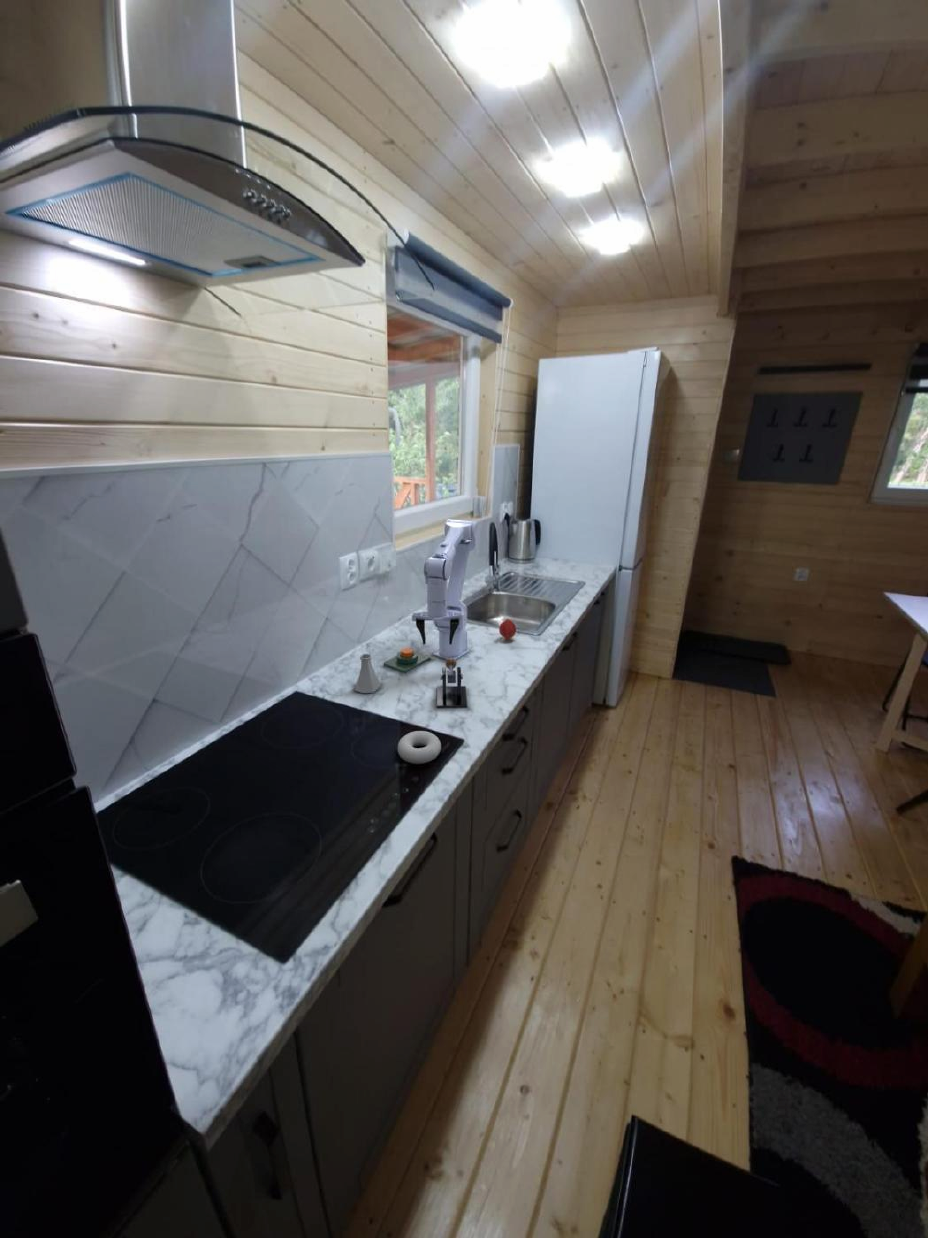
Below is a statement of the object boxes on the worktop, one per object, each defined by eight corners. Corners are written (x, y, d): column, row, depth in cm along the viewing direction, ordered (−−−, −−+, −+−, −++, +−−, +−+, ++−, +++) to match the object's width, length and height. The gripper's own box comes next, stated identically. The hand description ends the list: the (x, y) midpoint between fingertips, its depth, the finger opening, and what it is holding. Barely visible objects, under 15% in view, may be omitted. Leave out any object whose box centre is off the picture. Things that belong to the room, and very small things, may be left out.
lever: (445, 666, 142) (445, 656, 141) (456, 666, 142) (456, 656, 141) (445, 684, 132) (445, 674, 130) (457, 684, 132) (457, 673, 131)
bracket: (437, 690, 140) (436, 662, 136) (465, 689, 140) (465, 662, 137) (436, 709, 130) (436, 680, 127) (467, 709, 131) (467, 679, 127)
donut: (410, 736, 119) (389, 760, 111) (409, 724, 118) (388, 747, 109) (448, 746, 116) (429, 771, 107) (448, 733, 115) (429, 758, 106)
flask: (375, 695, 137) (373, 663, 133) (350, 692, 138) (348, 660, 134) (384, 682, 143) (382, 651, 139) (360, 680, 144) (358, 649, 141)
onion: (499, 635, 175) (500, 614, 172) (515, 636, 174) (517, 615, 171) (498, 642, 170) (499, 620, 166) (515, 643, 169) (516, 621, 166)
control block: (409, 652, 162) (409, 644, 160) (430, 660, 157) (430, 651, 156) (383, 666, 153) (383, 657, 151) (405, 674, 148) (405, 665, 147)
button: (406, 652, 156) (406, 647, 155) (415, 655, 154) (415, 650, 153) (398, 656, 153) (398, 651, 153) (407, 659, 151) (407, 654, 151)
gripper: (411, 604, 137) (412, 648, 142) (463, 603, 138) (462, 648, 142) (412, 596, 143) (413, 639, 148) (462, 596, 144) (461, 639, 149)
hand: (437, 643), depth 146 cm, fingers open, 7 cm apart
